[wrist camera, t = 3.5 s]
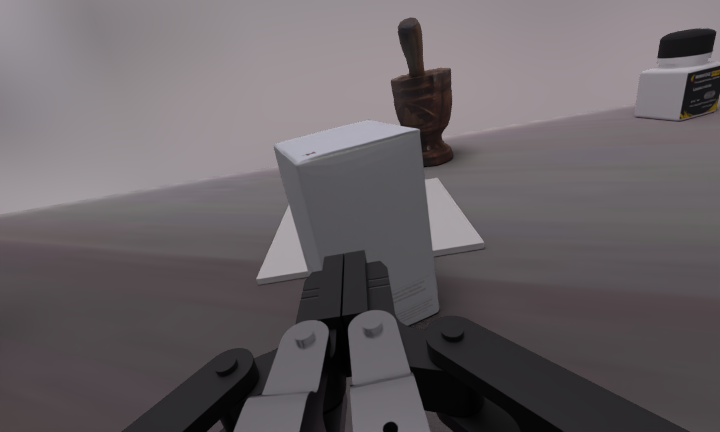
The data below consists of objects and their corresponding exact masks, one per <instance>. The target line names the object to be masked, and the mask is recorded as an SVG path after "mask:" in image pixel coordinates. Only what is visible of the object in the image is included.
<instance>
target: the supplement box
mask: <svg viewBox="0 0 720 432" xmlns="http://www.w3.org/2000/svg"><path fill="white" fill-rule="evenodd" d="M274 150H275V154H276V158H277V162H278V166H279V170H280V174H281V178H282V181H283V185H284V188H285V192H286V195H287V199H288V202H289V206H290V209H291V213H292V217H293V220H294V224H295V227H296V231H297V234H298V238H299V241H300V245H301V249H302V252H303V256H304V259H305V263H306V266H307V270H308V274H309V275H310V274H311V273H312V272H315V271H321V270H322V268H323V261H324V257H325V256H331V255H337V254H343V253H344V255H345V253H348V252H354V251H360V250H365V254H366V259H367V263H369V262H375V261H381V262H382V263H383V264H384V265H385V266H386V267H387V269H388V274H389V280H390V286H391V291H392V297H393V303H394V309H395V314H396V317H397V318H398V320H399V321H400V322H402V323H403V324H405V325H407V326H408V325H411V324H413V323H415V322H418V321H420V320H422V319H425V318H427V317H429V316H431V315H433V314H435V313H437V312H438V311H439V302H438V293H437V283H436V274H435V265H434V257H433V248H432V239H431V230H430V221H429V213H428V203H427V194H426V185H425V177H424V167H423V158H422V149H421V140H420V130H419V129H416V128H410V127H404V126H398V125H392V124H387V123H382V122H377V121H372V120H366V121H361V122H357V123H353V124H349V125H344V126H340V127H337V128H333V129H329V130H325V131H322V132H318V133H313V134H309V135H306V136H302V137H298V138H294V139H291V140H287V141H283V142H280V143H277V144H274Z"/></svg>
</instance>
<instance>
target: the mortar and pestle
mask: <svg viewBox="0 0 720 432" xmlns="http://www.w3.org/2000/svg"><path fill="white" fill-rule="evenodd" d="M398 35H399V39H400V44H401V47H402V50H403V53H404V55H405V57H406V60H407V64H408V68H409V74H407V75H402V76H400V77H397V78H395V79H392V80H391V86H392V92H393V96H394V106H395V110H396V113H397V117H398V120H399V122H400V124H401V126H404V127H410V128H416V129H419V130H420V140H421V149H422V158H423V166H431V165H438V164H442V163H444V162H447V161H448V160H450V159H451V158H452V157H453V152H452V149H451V147H450V146H449V145H447V144H445V143H444V141H443V140H442V136H441V135H442V132H443V131H444V129H445V128H446V127H447V125H448V123H449V120H450V115H451V108H452V90H451V69H450V68H438V69H432V70H427V71H424V65H423V44H422V31H421V27H420V24H419V22H418V20H417V19H416V18H408V19H404V20H403V21H402V22H400V24H399V26H398Z"/></svg>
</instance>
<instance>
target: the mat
mask: <svg viewBox="0 0 720 432" xmlns="http://www.w3.org/2000/svg"><path fill="white" fill-rule="evenodd" d="M425 185H426V194H427V203H428V213H429V221H430V230H431V239H432V248H433V257H435V256H441V255H447V254H453V253H459V252H466V251H472V250H478V249H484V242H483V240H482V239H481V237H480V236H479V235H478V233H477V232H476V231H475V229H474V228H473V226H472V225H471V224H470V222H469V221H468V220H467V218H466V217H465V215H464V214H463V213H462V211H461V210H460V208H459V207H458V206H457V204H456V203H455V202H454V200H453V199H452V197H451V196H450V195H449V193H448V192H447V191H446V189H445V188H444V186H443V185H442V184H441V182H440V181H439V180H438V178H433V179H427V180H425ZM305 277H309V274H308V270H307V266H306V263H305V259H304V256H303V252H302V249H301V245H300V241H299V238H298V234H297V231H296V227H295V224H294V220H293V217H292V213H291V209H290V206H288V208H287V210H286V213H285V215H284V217H283V219H282V222H281V224H280V226H279V229H278V231H277V233H276V235H275V238H274V240H273V242H272V245H271V247H270V249H269V251H268V254H267V256H266V258H265V261H264V263H263V265H262V267H261V270H260V272H259V274H258V277H257V279H256V280H257V283H258V285H261V284H267V283H274V282H280V281H286V280H292V279H298V278H305Z"/></svg>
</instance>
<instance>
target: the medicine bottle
mask: <svg viewBox="0 0 720 432" xmlns="http://www.w3.org/2000/svg"><path fill="white" fill-rule="evenodd" d="M715 36H716V31H715V30H713V29H710V28H699V29H690V30H684V31H678V32H674V33H670V34H668V35H666V36H664V37H662V39H661V40H660V45H659V51H658V58H657V64H659V67H657V68H653V69H648V70H645V71H642V72H641V73H640V79H639V86H638V93H637V100H636V107H635V114H634V115H635V117H641V118H651V119H661V120H671V121H683V120H686V119H690V118H693V117H697V116H701V115H704V114H708V113H712V112H714V111H716V108H717V103H718V99H719V95H720V61H713V62H707V60H708V58H711V55H712V51H713V45H714V40H715Z"/></svg>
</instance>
